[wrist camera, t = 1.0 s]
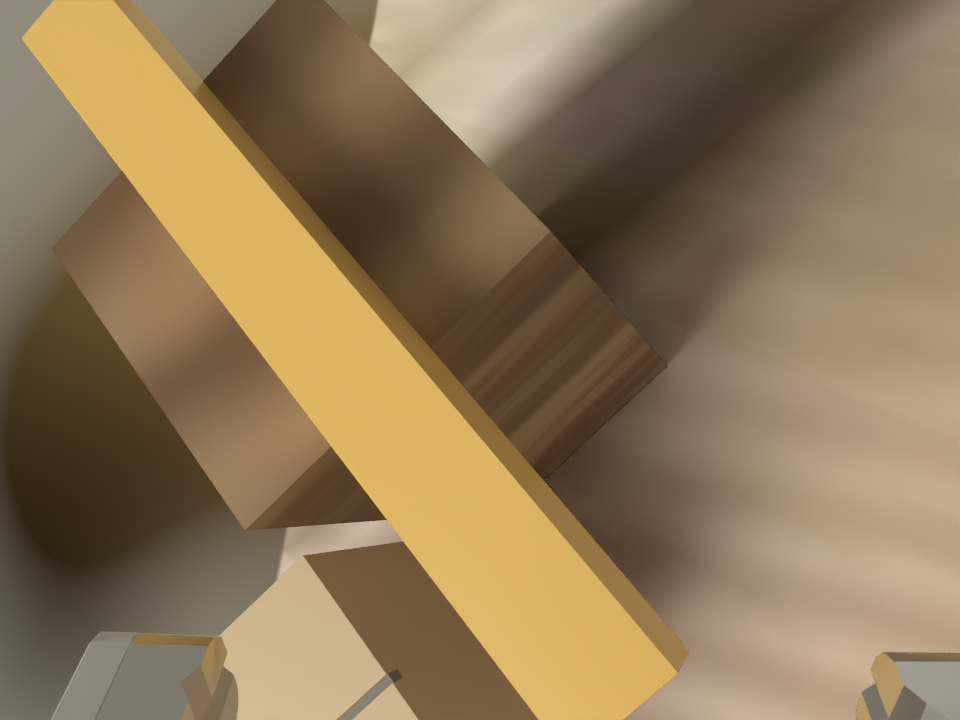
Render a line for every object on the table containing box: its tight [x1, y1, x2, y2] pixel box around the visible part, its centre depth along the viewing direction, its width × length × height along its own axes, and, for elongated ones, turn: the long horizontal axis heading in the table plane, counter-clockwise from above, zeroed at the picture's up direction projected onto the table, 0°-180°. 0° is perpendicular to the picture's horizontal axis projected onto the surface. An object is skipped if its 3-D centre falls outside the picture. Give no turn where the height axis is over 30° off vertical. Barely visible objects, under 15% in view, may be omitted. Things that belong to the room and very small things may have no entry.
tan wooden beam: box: [22, 0, 689, 720], centre depth 23 cm, size 26×3×2 cm, turn 41°
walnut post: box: [52, 0, 667, 530], centre depth 37 cm, size 12×12×26 cm
